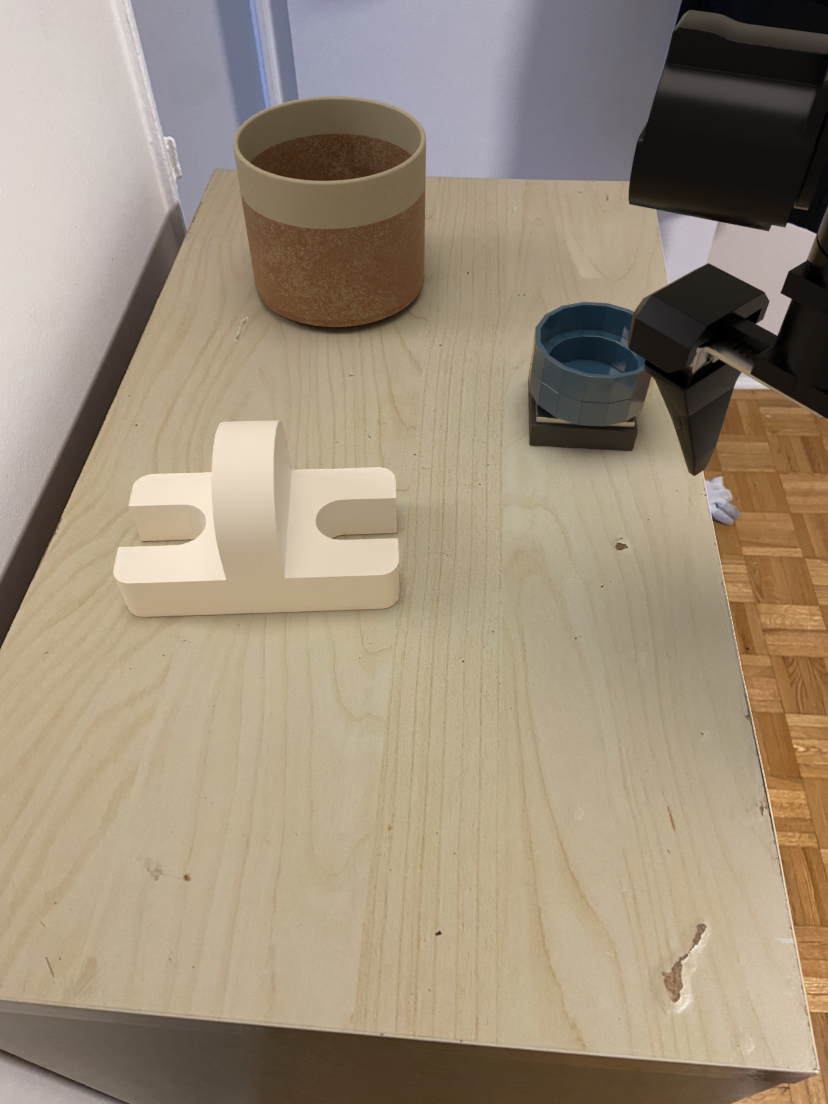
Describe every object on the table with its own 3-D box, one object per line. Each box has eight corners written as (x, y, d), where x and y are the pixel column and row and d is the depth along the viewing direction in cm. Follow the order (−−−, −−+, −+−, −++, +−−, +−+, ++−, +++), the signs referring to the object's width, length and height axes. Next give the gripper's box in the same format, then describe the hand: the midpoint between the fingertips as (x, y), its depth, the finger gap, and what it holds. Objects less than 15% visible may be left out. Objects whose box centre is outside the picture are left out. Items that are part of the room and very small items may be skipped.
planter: (433, 328, 75) (436, 177, 65) (254, 339, 74) (228, 187, 64) (415, 235, 85) (415, 91, 75) (257, 243, 84) (235, 99, 74)
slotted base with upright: (400, 608, 55) (398, 494, 47) (124, 617, 55) (73, 504, 47) (395, 502, 62) (393, 385, 53) (147, 509, 61) (106, 393, 53)
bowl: (668, 417, 64) (684, 364, 60) (556, 441, 62) (565, 388, 58) (615, 346, 69) (626, 293, 66) (510, 367, 68) (516, 313, 64)
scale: (624, 384, 70) (630, 359, 68) (632, 450, 65) (639, 425, 63) (527, 380, 71) (531, 354, 69) (529, 445, 66) (532, 420, 64)
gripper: (1240, 276, 31) (1013, 547, 43) (806, 112, 41) (718, 372, 53) (1109, 400, 27) (897, 665, 39) (654, 184, 36) (596, 450, 48)
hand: (766, 518), depth 45 cm, fingers open, 9 cm apart
